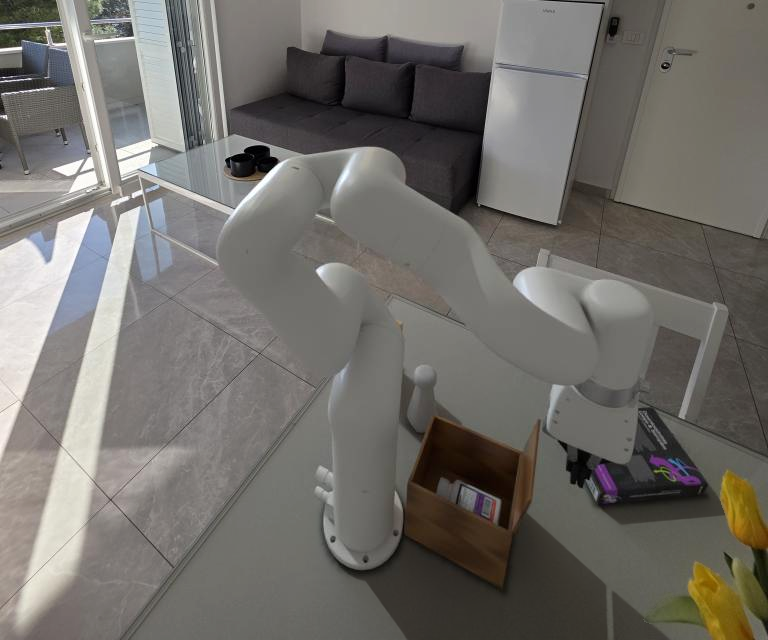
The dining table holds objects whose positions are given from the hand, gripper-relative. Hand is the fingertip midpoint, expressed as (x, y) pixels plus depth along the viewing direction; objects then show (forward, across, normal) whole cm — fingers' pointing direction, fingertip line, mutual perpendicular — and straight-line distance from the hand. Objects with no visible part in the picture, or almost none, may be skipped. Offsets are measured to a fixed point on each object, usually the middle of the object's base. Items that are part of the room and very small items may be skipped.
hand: (576, 475), depth 59 cm
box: (+17, -10, -20) cm, 28 cm away
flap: (+1, +6, +2) cm, 7 cm away
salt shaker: (+17, +26, -10) cm, 32 cm away
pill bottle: (+13, +9, +2) cm, 16 cm away
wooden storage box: (+16, +14, +2) cm, 22 cm away
